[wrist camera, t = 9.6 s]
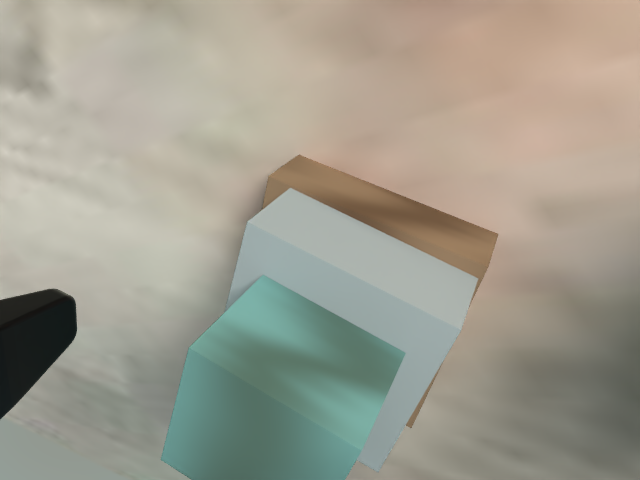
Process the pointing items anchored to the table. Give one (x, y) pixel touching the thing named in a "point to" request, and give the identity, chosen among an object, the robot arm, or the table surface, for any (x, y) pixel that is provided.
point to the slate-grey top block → (361, 293)
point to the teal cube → (278, 392)
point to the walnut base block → (389, 219)
